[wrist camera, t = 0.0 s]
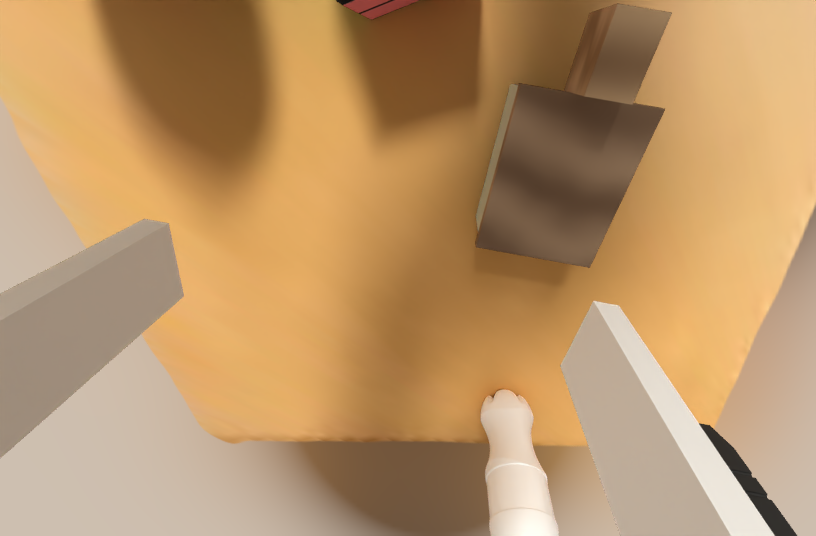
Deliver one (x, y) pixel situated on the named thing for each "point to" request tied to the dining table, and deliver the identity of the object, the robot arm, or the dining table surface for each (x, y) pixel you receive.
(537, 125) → the tan tabbed block
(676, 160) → the dining table surface
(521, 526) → the water bottle
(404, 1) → the puzzle cube
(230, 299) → the dining table surface
